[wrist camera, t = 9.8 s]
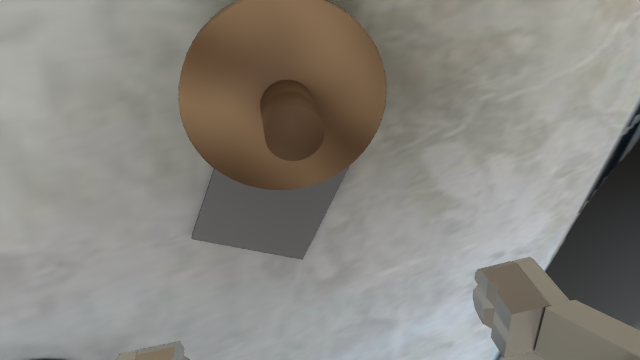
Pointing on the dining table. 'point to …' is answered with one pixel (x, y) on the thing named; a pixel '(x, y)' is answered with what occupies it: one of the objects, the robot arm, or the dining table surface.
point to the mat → (264, 215)
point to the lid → (281, 92)
